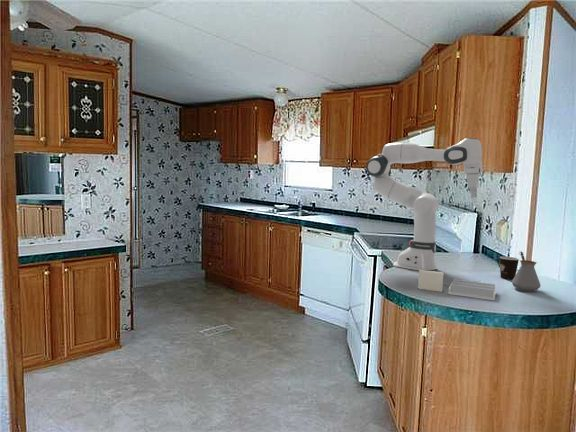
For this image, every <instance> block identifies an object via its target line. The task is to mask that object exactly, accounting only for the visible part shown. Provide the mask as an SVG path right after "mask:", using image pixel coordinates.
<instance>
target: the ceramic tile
mask: <svg viewBox="0 0 576 432" xmlns="http://www.w3.org/2000/svg"><path fill="white" fill-rule="evenodd" d="M444 274H445V273H444V272H443V271H442V272H441V271H435V270H434V271H433V270H418V283H417V284H418V285H417V288H419V290H425V289H426V290H427V291H435V292H440V293H441V292H443V288H444Z"/></svg>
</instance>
